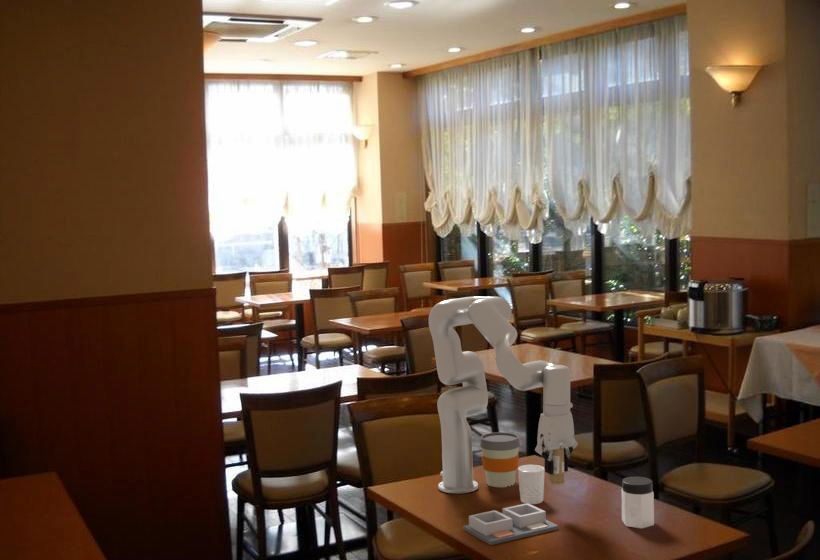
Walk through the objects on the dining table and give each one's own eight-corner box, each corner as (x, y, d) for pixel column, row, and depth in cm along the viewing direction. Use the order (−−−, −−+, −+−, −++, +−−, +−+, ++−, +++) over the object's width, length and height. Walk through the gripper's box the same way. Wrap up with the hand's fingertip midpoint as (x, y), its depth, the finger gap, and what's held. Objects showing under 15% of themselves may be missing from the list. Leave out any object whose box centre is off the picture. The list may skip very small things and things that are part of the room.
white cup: (544, 496, 285) (543, 464, 284) (545, 505, 277) (545, 471, 276) (518, 496, 285) (517, 464, 284) (518, 505, 277) (518, 472, 277)
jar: (617, 525, 257) (616, 482, 256) (626, 516, 264) (625, 474, 263) (650, 530, 253) (649, 486, 252) (657, 520, 260) (657, 478, 259)
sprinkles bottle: (567, 483, 266) (568, 437, 265) (555, 486, 264) (556, 439, 263) (556, 479, 270) (557, 433, 269) (544, 482, 268) (545, 436, 266)
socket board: (463, 529, 258) (462, 515, 258) (529, 514, 268) (528, 501, 268) (490, 545, 246) (490, 530, 246) (558, 529, 256) (558, 514, 256)
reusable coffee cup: (527, 480, 302) (525, 434, 300) (509, 491, 291) (508, 443, 290) (492, 475, 308) (491, 430, 307) (474, 485, 298) (472, 439, 296)
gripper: (572, 402, 272) (572, 464, 274) (524, 409, 264) (524, 472, 266) (588, 408, 265) (588, 470, 267) (540, 415, 258) (539, 480, 260)
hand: (556, 471), depth 267 cm, fingers closed on sprinkles bottle, 4 cm apart
